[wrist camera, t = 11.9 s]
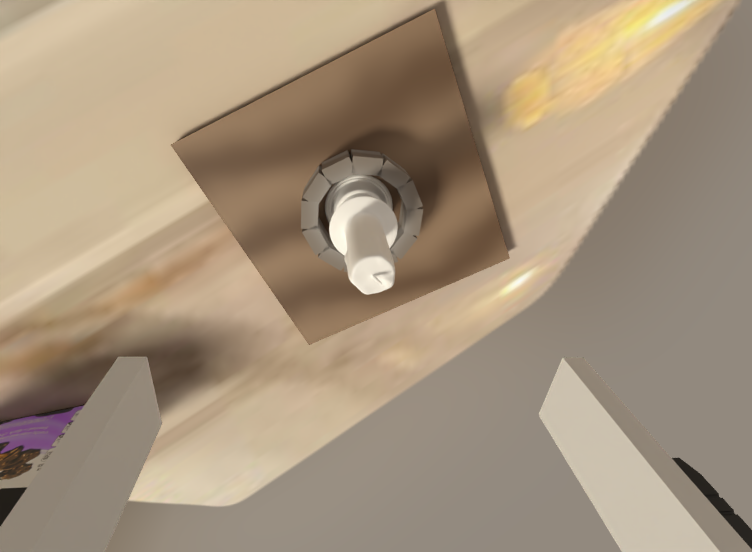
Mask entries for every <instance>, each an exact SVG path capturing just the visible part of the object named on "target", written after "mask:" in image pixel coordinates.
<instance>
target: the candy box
mask: <svg viewBox="0 0 752 552" xmlns="http://www.w3.org/2000/svg"><path fill="white" fill-rule="evenodd" d="M83 407H84V406H79V407H74V408H70V409H65V410H59V411H54V412H50V413H45V414H40V415H34V416H29V417H24V418H20V419H15V420H9V421H4V422H0V489H1V488H22V487H28V486H29V485H30V483H31V482H32V480H33V479H34V477H35V476H36V475H37V473H38V472H39V470H40V469H41V467H42V466H43V464H44V463H45V462H46V460H47V459H48V457H49V456H50V454H51V453H52V452H53V450H54V449H55V447H56V446H57V444H58V443H59V441H60V440H61V439H62V437H63V436H64V434H65V433H66V431H67V430H68V428H69V427H70V426H71V424H72V423H73V421H74V420H75V418H76V417H77V415H78V414H79V413H80V411H81V410H82V408H83Z"/></svg>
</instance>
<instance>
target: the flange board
mask: <svg viewBox="0 0 752 552" xmlns="http://www.w3.org/2000/svg"><path fill="white" fill-rule="evenodd" d="M171 146H172V147H173V149H174V150H175V152H176V153H177V155H178V156H179V157H180V159H181V160H182V162H183V163H184V165H185V166H186V168H187V169H188V171H189V172H190V173H191V175H192V176H193V178H194V179H195V181H196V182H197V184H198V185H199V186H200V188H201V189H202V191H203V192H204V194H205V195H206V197H207V198H208V199H209V201H210V202H211V204H212V205H213V207H214V208H215V210H216V211H217V212H218V214H219V215H220V217H221V218H222V220H223V221H224V223H225V224H226V225H227V227H228V228H229V230H230V231H231V233H232V234H233V236H234V237H235V238H236V240H237V241H238V243H239V244H240V246H241V247H242V249H243V250H244V251H245V253H246V254H247V256H248V257H249V259H250V260H251V262H252V263H253V264H254V266H255V267H256V269H257V270H258V272H259V273H260V275H261V276H262V278H263V279H264V280H265V282H266V283H267V285H268V286H269V288H270V289H271V291H272V292H273V293H274V295H275V296H276V298H277V299H278V301H279V302H280V304H281V305H282V306H283V308H284V309H285V311H286V312H287V314H288V315H289V317H290V318H291V319H292V321H293V322H294V324H295V325H296V327H297V328H298V330H299V331H300V332H301V334H302V335H303V337H304V338H305V340H306V341H307V343H308V344H309V345H310V344H312V343H315V342H317V341H319V340H321V339H324V338H326V337H328V336H331V335H333V334H335V333H338V332H340V331H342V330H345V329H347V328H349V327H352V326H354V325H356V324H359V323H361V322H363V321H365V320H368V319H370V318H372V317H375V316H377V315H379V314H382V313H384V312H386V311H389V310H391V309H393V308H396V307H398V306H400V305H403V304H405V303H407V302H410V301H412V300H414V299H416V298H419V297H421V296H423V295H426V294H428V293H430V292H433V291H435V290H437V289H440V288H442V287H444V286H447V285H449V284H451V283H454V282H456V281H458V280H460V279H463V278H465V277H467V276H470V275H472V274H474V273H477V272H479V271H481V270H484V269H486V268H488V267H491V266H493V265H495V264H498V263H500V262H502V261H505V260H507V259H509V254H508V251H507V248H506V244H505V241H504V238H503V234H502V231H501V228H500V224H499V221H498V218H497V214H496V211H495V208H494V204H493V201H492V198H491V194H490V191H489V188H488V184H487V181H486V178H485V174H484V171H483V168H482V164H481V161H480V158H479V154H478V151H477V148H476V144H475V141H474V138H473V134H472V131H471V128H470V124H469V121H468V118H467V114H466V111H465V108H464V104H463V101H462V98H461V94H460V91H459V88H458V84H457V81H456V78H455V74H454V71H453V68H452V64H451V61H450V58H449V54H448V51H447V48H446V44H445V41H444V38H443V34H442V31H441V28H440V24H439V21H438V18H437V14H436V11H435V9H433V10H431V11H429V12H427V13H425V14H423V15H421V16H419V17H417V18H415V19H414V20H412V21H410V22H408V23H406V24H404V25H402V26H400V27H398V28H396V29H394V30H392V31H390V32H388V33H386V34H384V35H382V36H381V37H379V38H377V39H375V40H373V41H371V42H369V43H367V44H365V45H363V46H361V47H359V48H357V49H355V50H353V51H351V52H350V53H348V54H346V55H344V56H342V57H340V58H338V59H336V60H334V61H332V62H330V63H328V64H326V65H324V66H322V67H320V68H319V69H317V70H315V71H313V72H311V73H309V74H307V75H305V76H303V77H301V78H299V79H297V80H295V81H293V82H291V83H289V84H287V85H286V86H284V87H282V88H280V89H278V90H276V91H274V92H272V93H270V94H268V95H266V96H264V97H262V98H260V99H258V100H256V101H255V102H253V103H251V104H249V105H247V106H245V107H243V108H241V109H239V110H237V111H235V112H233V113H231V114H229V115H227V116H225V117H224V118H222V119H220V120H218V121H216V122H214V123H212V124H210V125H208V126H206V127H204V128H202V129H200V130H198V131H196V132H194V133H193V134H191V135H189V136H187V137H185V138H183V139H181V140H179V141H177V142H175V143H173V144H171ZM353 174H362V175H370V176H372V177H375V178H377V179H378V180H380V181H381V182H382V183H383V184H384V185H385V186H386V187H387V189H388V191H389V192H390V195H391V198H392V203H393V209H392V211H393V212H394V214H395V216H396V219H397V224H398V231H397V236H396V239H395V241H394V243H393V245H392V246H391V247H390V251H391V255H392V258H393V261H394V266H395V280H394V284H393V286H392V287H391V288H389V289H387V290H384V291H382V292H379V293H374V294H364V293H362V292H361V291H360V290H359V289H358V288H357V287H356V286H355V285H353V284H352V283H351V281H350V280H349V277H348V270H347V265H346V263H345V259H344V258H345V255H343V254H342V253H340V252H339V251H338V250H337V249H336V247H335V246H334V244H333V243H332V240H331V238H330V233H329V226H330V223H329V222H328V220H327V217H326V213H325V201H326V197H327V194H328V192H329V190H330V189H331V188H332V186H333V185H334V184H335V183H336V182H338V181H340V180H342V179H345V178H347V177H349V176H351V175H353Z"/></svg>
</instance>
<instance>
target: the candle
mask: <svg viewBox="0 0 752 552" xmlns="http://www.w3.org/2000/svg"><path fill="white" fill-rule="evenodd" d="M392 209H393V203H392V198H391V195H390V192H389V191H388V189H387V187H386V186H385V185H384V184H383V183H382V182H381V181H380V180H378V179H377V178H375V177H372V176H370V175H362V174H353V175H351V176H349V177H347V178H345V179H342V180H340V181H338V182H336V183H335V184H334V185H333V186H332V188H331V189H330V190H329V192H328V194H327V197H326V201H325V213H326V217H327V220H328V222H329V223H330V226H329V233H330V238H331V240H332V243H333V244H334V246H335V247H336V249H337V250H338V251H339V252H340V253H342V254H343V255H345V258H344V259H345V263H346V265H347V270H348V277H349V280H350V281H351V283H352V284H353V285H355V286H356V287H357V288H358V289H359V290H360V291H361V292H362V293H364V294H374V293H379V292H382V291H384V290H387V289H389V288H391V287H392V286H393V284H394V280H395V266H394V261H393V258H392V255H391V251H390V247H391V246H392V245H393V243H394V241H395V239H396V236H397V231H398V224H397V219H396V216H395V214H394V212H393V211H392Z"/></svg>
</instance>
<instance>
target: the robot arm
mask: <svg viewBox="0 0 752 552" xmlns="http://www.w3.org/2000/svg"><path fill="white" fill-rule="evenodd" d="M539 416H540V418H541V420H542V421H543V423H544V425H545V426H546V428H547V429H548V431H549V433H550V434H551V436H552V438H553V439H554V441H555V443H556V444H557V446H558V448H559V449H560V451H561V453H562V454H563V456H564V457H565V459H566V461H567V462H568V464H569V466H570V467H571V469H572V470H573V472H574V474H575V476H576V477H577V479H578V480H579V482H580V484H581V485H582V487H583V488H584V490H585V492H586V494H587V495H588V497H589V498H590V500H591V502H592V503H593V505H594V507H595V508H596V510H597V512H598V513H599V515H600V517H601V518H602V520H603V521H604V523H605V525H606V526H607V528H608V530H609V531H610V533H611V535H612V536H613V538H614V540H615V541H616V543H617V544H618V546H619V548H620V549H621V551H622V552H752V530H751V529H750V528H749V527H748V525H747V524H746V523H745V522H744V521H743V520H742V519H741V518H740V517H739V516H738V515H735V514H734V510H733V509H732V508H731V507H730V506H729V505H728V504H727V502H726V501H725V500H724V499H723V498H720V497H719V494H718V493H717V491H716V490H715V489H714V488H713V487H712V486H711V485H710V484H709V483H708V482H707V481H706V480H705V479H704V477H703V476H702V475H701V474H700V473H698V472H697V471H696V470H694V469H693V468H692V467H690V466H689V465H688V464H687V463H685V462H684V461H683V460H681V459H680V458H671V457H670V456H669V455H668V454H667V452H666V451H665V450H664V449H663V448H662V447H661V446H660V444H659V443H658V442H657V441H656V440H655V439H654V438H653V436H652V435H650V433H649V432H648V431H647V430H646V428H645V427H644V426H643V425H642V424H641V423H640V422H639V421H638V419H637V418H636V417H635V416H634V415H633V414H632V413H631V412H630V410H629V409H628V408H627V407H626V406H625V405H624V403H623V402H622V401H621V400H620V399H619V398H618V397H617V395H616V394H615V393H614V392H613V391H612V390H611V389H610V388H609V386H608V385H607V384H606V383H605V382H604V381H603V379H602V378H601V377H600V376H599V375H598V374H597V373H596V372H595V371H594V369H593V368H592V367H591V366H590V365H589V364H588V362H587V361H586V360H585V359H584V358H576V357H573V358H571V357H566V358H565V357H563V358H562V361H561V363H560V365H559V368H558V370H557V373H556V375H555V377H554V379H553V382H552V384H551V387H550V389H549V391H548V394H547V396H546V399H545V401H544V403H543V406H542V408H541V410H540V413H539ZM161 425H162V421H161V416H160V412H159V407H158V403H157V398H156V394H155V389H154V385H153V380H152V376H151V371H150V367H149V363H148V358H147V357H118V358H117V359H116V361H115V362H114V364H113V365H112V367H111V368H110V369H109V371H108V372H107V374H106V375H105V377H104V378H103V379H102V381H101V382H100V384H99V385H98V387H97V388H96V390H95V391H94V392H93V394H92V395H91V397H90V398H89V400H88V401H87V403H86V404H85V405H84V407H83V408H82V410H81V411H80V413H79V414H78V415H77V417H76V418H75V420H74V421H73V423H72V424H71V426H70V427H69V428H68V430H67V431H66V433H65V434H64V436H63V437H62V439H61V440H60V441H59V443H58V444H57V446H56V447H55V449H54V450H53V452H52V453H51V454H50V456H49V457H48V459H47V460H46V462H45V463H44V464H43V466H42V467H41V469H40V470H39V472H38V473H37V475H36V476H35V477H34V479H33V480H32V482H31V483H30V485H29V486H28V487H22V488H1V489H0V552H105V551H106V548H107V546H108V544H109V541H110V539H111V537H112V535H113V532H114V530H115V528H116V526H117V524H118V521H119V519H120V517H121V515H122V512H123V510H124V508H125V506H126V503H127V501H128V499H129V497H130V494H131V492H132V490H133V488H134V485H135V483H136V481H137V479H138V476H139V474H140V472H141V470H142V468H143V465H144V463H145V461H146V459H147V456H148V454H149V452H150V450H151V447H152V445H153V443H154V441H155V438H156V436H157V434H158V432H159V429H160V427H161Z"/></svg>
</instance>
